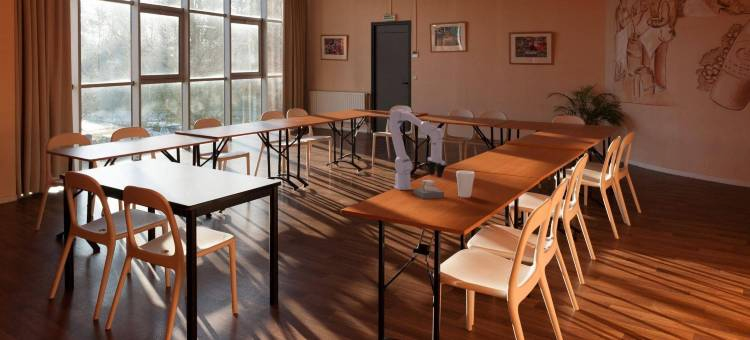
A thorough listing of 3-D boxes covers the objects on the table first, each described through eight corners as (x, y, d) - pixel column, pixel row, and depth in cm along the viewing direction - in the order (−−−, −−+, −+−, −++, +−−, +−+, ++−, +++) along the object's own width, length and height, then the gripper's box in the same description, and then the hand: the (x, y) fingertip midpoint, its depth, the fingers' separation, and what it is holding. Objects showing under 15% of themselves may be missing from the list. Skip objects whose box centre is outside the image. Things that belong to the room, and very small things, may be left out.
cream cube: (422, 189, 353) (422, 180, 352) (430, 188, 355) (430, 179, 354) (425, 191, 348) (426, 182, 347) (434, 190, 350) (434, 181, 349)
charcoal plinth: (413, 194, 356) (413, 188, 355) (434, 192, 360) (434, 187, 359) (422, 198, 344) (423, 193, 344) (443, 197, 349) (443, 191, 348)
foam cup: (459, 198, 346) (460, 174, 344) (452, 194, 355) (453, 170, 353) (476, 197, 349) (477, 173, 347) (469, 193, 358) (470, 170, 355)
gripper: (423, 149, 359) (422, 174, 361) (437, 153, 346) (436, 179, 348) (434, 148, 362) (433, 173, 364) (448, 152, 349) (447, 178, 351)
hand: (435, 176), depth 356 cm, fingers open, 7 cm apart
